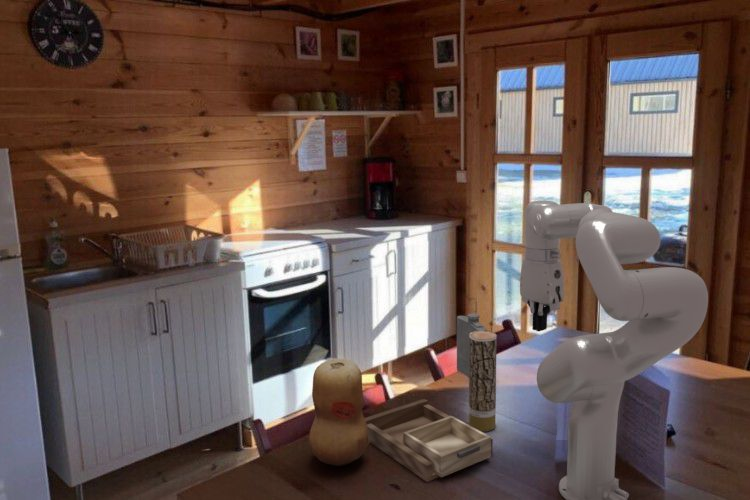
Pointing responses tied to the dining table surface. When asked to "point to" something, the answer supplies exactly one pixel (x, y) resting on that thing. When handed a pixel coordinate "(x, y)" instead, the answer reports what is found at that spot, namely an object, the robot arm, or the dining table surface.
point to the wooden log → (482, 380)
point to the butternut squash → (338, 413)
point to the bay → (390, 429)
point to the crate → (449, 444)
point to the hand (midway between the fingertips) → (539, 329)
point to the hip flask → (466, 339)
